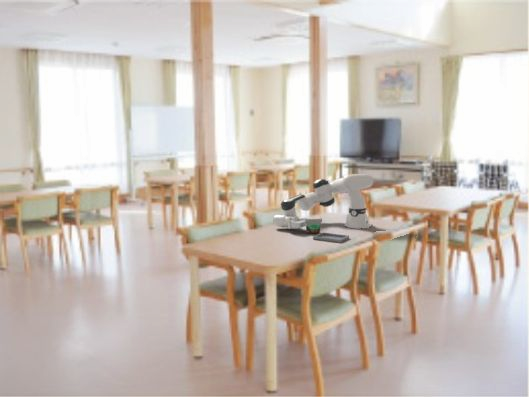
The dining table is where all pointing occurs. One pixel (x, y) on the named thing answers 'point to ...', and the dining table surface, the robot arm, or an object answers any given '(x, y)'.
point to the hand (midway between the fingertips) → (311, 224)
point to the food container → (313, 226)
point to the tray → (331, 237)
